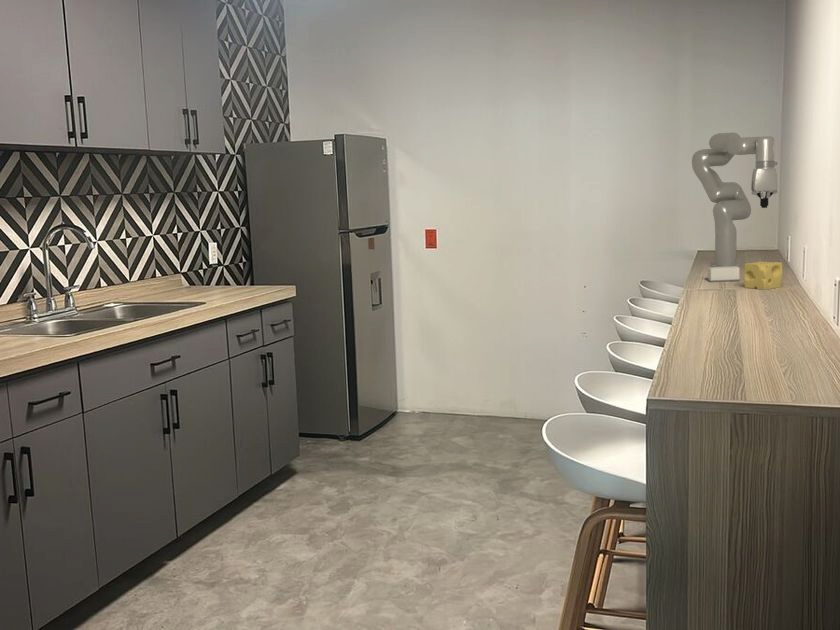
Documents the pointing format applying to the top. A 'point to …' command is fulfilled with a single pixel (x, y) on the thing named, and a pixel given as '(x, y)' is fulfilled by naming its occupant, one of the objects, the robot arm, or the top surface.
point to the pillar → (724, 273)
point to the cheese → (763, 275)
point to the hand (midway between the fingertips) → (764, 207)
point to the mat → (720, 280)
